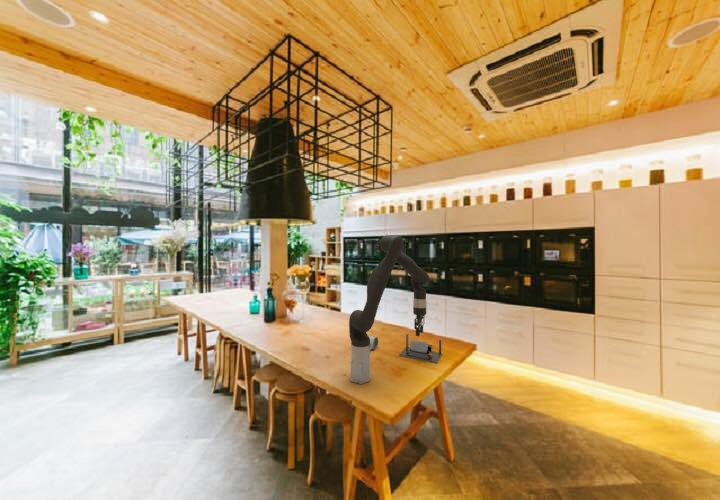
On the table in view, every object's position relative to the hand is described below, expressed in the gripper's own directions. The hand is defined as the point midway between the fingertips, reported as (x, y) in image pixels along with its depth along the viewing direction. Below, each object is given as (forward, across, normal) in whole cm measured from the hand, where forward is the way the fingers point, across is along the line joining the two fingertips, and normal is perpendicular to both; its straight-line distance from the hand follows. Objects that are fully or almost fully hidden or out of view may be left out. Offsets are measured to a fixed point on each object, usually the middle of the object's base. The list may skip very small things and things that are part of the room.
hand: (419, 334), depth 157 cm
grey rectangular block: (+13, 0, 0) cm, 13 cm away
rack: (+14, +3, 0) cm, 14 cm away
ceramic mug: (+14, -2, +31) cm, 34 cm away
